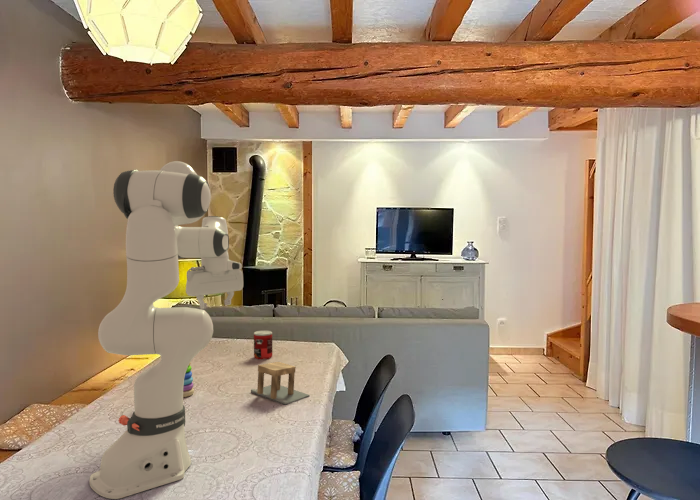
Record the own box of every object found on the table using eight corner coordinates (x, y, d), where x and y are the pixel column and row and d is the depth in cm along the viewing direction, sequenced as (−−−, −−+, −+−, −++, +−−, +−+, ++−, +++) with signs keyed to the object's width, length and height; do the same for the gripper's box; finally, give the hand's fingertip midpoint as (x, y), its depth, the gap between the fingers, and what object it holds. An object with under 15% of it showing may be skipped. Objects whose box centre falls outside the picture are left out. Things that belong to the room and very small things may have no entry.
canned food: (252, 356, 221) (251, 331, 220) (269, 354, 224) (269, 329, 223) (256, 360, 214) (256, 335, 213) (274, 358, 217) (274, 333, 216)
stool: (275, 370, 165) (295, 366, 171) (258, 365, 171) (278, 361, 177) (273, 399, 165) (294, 394, 171) (256, 392, 171) (276, 388, 177)
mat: (285, 405, 163) (285, 402, 162) (250, 392, 174) (250, 389, 174) (309, 396, 171) (309, 393, 171) (275, 384, 183) (275, 381, 183)
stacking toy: (186, 399, 168) (185, 344, 167) (165, 397, 169) (164, 342, 168) (198, 391, 175) (197, 338, 174) (177, 389, 177) (176, 337, 176)
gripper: (192, 268, 156) (193, 312, 157) (245, 263, 172) (246, 303, 172) (181, 267, 160) (182, 309, 161) (234, 262, 176) (235, 301, 177)
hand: (215, 306), depth 167 cm, fingers open, 8 cm apart
